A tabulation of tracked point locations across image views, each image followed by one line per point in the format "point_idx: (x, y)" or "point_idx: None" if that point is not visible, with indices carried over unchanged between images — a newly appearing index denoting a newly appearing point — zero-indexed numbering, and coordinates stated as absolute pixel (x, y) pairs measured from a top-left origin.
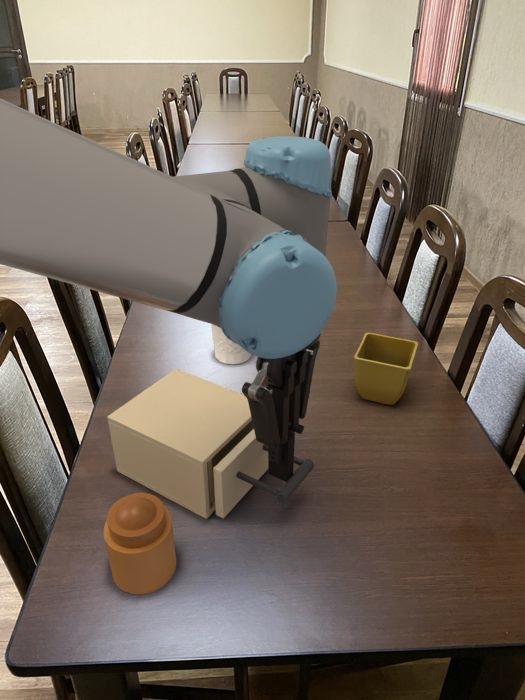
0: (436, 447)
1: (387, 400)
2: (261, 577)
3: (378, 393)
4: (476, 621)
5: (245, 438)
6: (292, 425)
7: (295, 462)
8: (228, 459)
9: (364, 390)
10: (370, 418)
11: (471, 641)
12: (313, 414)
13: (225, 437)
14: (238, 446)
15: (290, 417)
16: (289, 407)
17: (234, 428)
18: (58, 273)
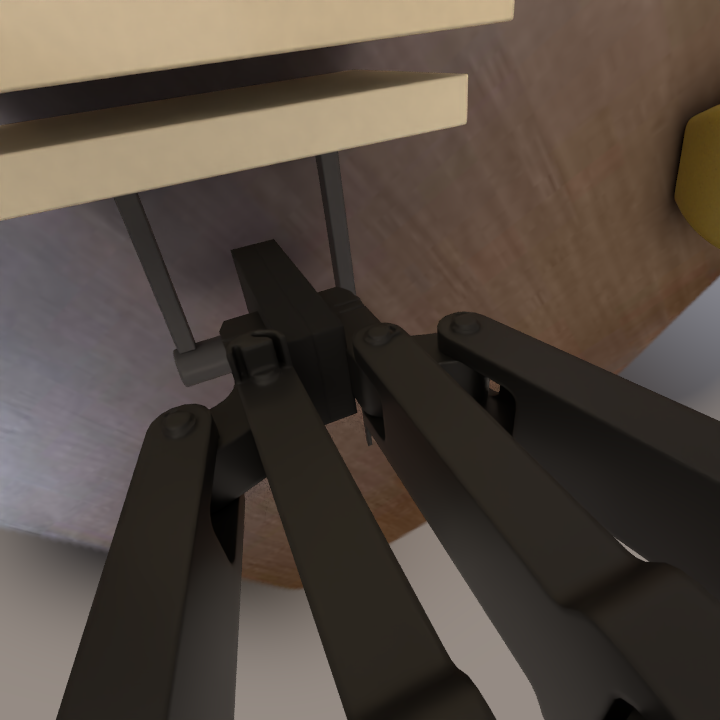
0: (576, 340)
1: (685, 197)
2: (26, 373)
3: (704, 180)
4: (293, 566)
5: (244, 125)
6: (373, 433)
7: (336, 280)
8: (51, 182)
9: (712, 140)
10: (621, 187)
11: (262, 581)
12: (595, 35)
13: (121, 54)
14: (171, 142)
15: (392, 453)
16: (424, 494)
17: (230, 35)
18: None
